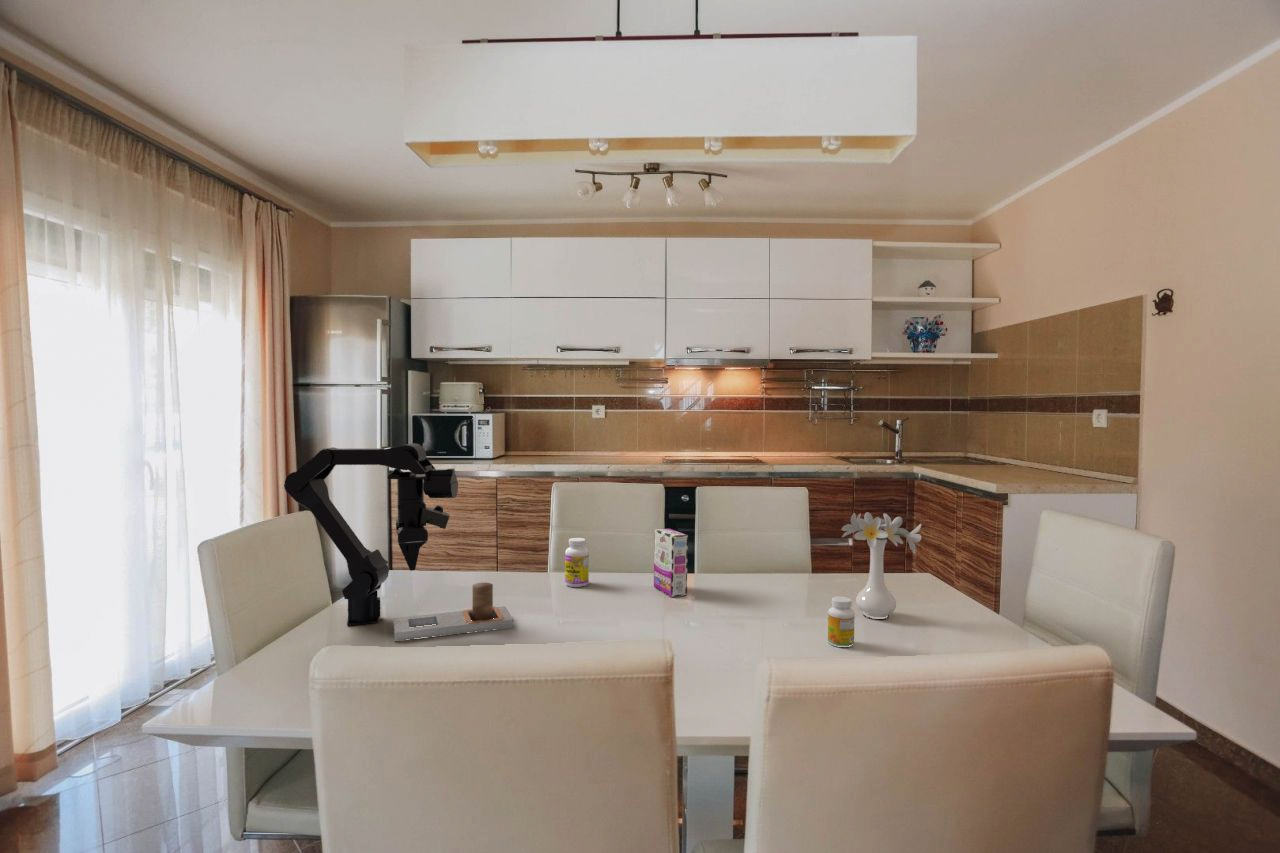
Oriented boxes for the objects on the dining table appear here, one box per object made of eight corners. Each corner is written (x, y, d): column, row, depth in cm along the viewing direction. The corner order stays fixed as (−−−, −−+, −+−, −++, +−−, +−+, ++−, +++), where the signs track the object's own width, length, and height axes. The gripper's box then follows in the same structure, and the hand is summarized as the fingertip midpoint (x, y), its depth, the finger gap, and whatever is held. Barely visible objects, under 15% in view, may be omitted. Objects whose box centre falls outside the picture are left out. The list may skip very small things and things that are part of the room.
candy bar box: (688, 596, 172) (689, 534, 171) (671, 598, 170) (672, 536, 169) (668, 585, 182) (669, 527, 181) (652, 587, 180) (653, 528, 179)
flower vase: (927, 625, 151) (930, 518, 150) (848, 624, 151) (850, 517, 150) (904, 607, 164) (906, 509, 163) (831, 606, 164) (833, 508, 163)
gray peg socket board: (394, 642, 136) (394, 631, 136) (393, 626, 146) (393, 617, 145) (513, 627, 146) (513, 618, 146) (505, 614, 155) (505, 605, 155)
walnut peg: (473, 628, 145) (474, 588, 145) (471, 622, 149) (471, 583, 149) (494, 626, 147) (494, 586, 147) (490, 620, 151) (491, 581, 151)
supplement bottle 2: (823, 639, 141) (824, 595, 140) (848, 639, 141) (848, 595, 141) (833, 648, 135) (833, 602, 135) (858, 648, 136) (859, 602, 135)
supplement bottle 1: (560, 585, 180) (560, 540, 180) (573, 580, 186) (573, 536, 185) (580, 589, 177) (580, 542, 176) (593, 583, 183) (593, 538, 182)
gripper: (451, 501, 143) (451, 571, 144) (443, 491, 160) (444, 553, 161) (397, 504, 139) (398, 576, 139) (395, 493, 156) (396, 557, 157)
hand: (411, 565), depth 149 cm, fingers open, 9 cm apart
